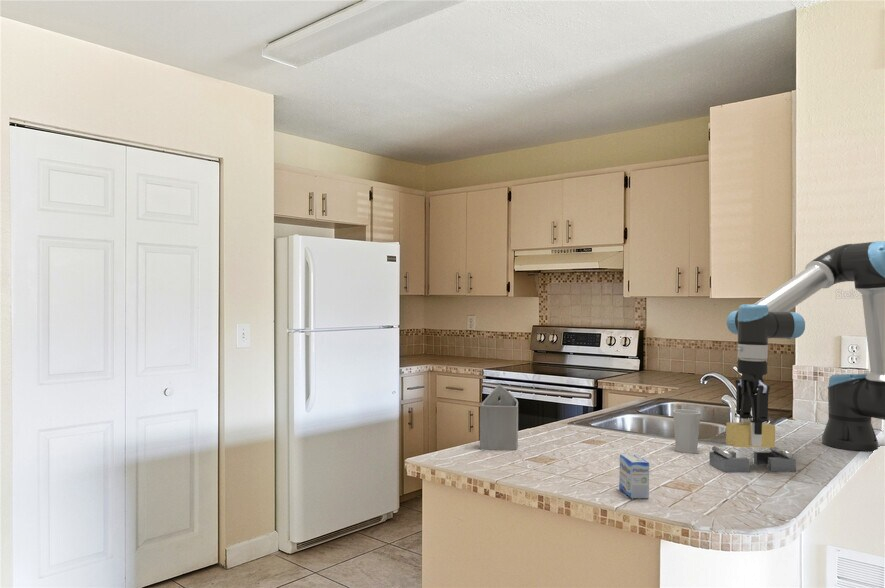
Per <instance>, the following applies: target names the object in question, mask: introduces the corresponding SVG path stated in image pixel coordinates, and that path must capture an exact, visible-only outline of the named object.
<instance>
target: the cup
mask: <svg viewBox="0 0 885 588" xmlns="http://www.w3.org/2000/svg"><path fill="white" fill-rule="evenodd" d="M672 416H673V426H674V427H673V429H674V441H675V442H674V443H675V451H676V452H678V453H679V452H680V453H685V454H697V453H698V451H699V450H698V447H699V435H700V423H701V422H700V421H701V412H700V411H699V410H695V409H694V410H692V409H684V408H683V409H674V410H672Z"/></svg>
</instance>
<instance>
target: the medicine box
mask: <svg viewBox="0 0 885 588" xmlns="http://www.w3.org/2000/svg"><path fill="white" fill-rule="evenodd" d="M618 475H619V476H618V477H619V478H618V479H619V481H618V484H619V485H618V486H619V487H618V488H619V490H620V491H621V490H622V491H623V492H622V491H621V492H622V493H624V494H625V495H626V496H627V495H628V496H627V497H629V499H631V498H648V499H650V463H649V462H648V461H647V460H645V459H644V458H642V457H641V456H639V455H638V454H634V453H624V454H623V453H621V454H619V473H618Z"/></svg>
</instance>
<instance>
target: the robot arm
mask: <svg viewBox="0 0 885 588" xmlns="http://www.w3.org/2000/svg"><path fill="white" fill-rule="evenodd" d="M805 265H806V266H805V267H804V269H803V270H802V271H801V272H799V273H797V274H796V275H795V276H793V277H792V278H791V279H789V280H787V281H786V282H784V283H782V284H781V285H780V286H778V287H776V288H775V289H773V291H771V292H770V293H768V294H766V295H765V296H763V297H762V298H761V299H759V300H758V301H756V302H755V303H753V304H747V303H746V304H744V303H743V304H740V305H739V307H738V309H737V310H733V311H731V312H730V313H729V314H728V316H727V318H726V326H727V329H728V331H729V332H730V333H732V334H733V335H737V347H736V350H737V358H739V359H738V360H737V362H736V363H737V364H736V365H737V366H736V367H737V369H736V371H737V373H738V374H740V375H741V378H740V379H735V386H736V387H735V388H736V389H735V391H736V394H735V395H736V396H735V397H736V398H735V399H736V401H735V403H736V405H735V406H736V409H735V410H736V411H735V412H736V415H739V418H740V422H743V423H751V440H750V446H761V444H762V423H766V422H768V418H769V417H768V416H769V415H768V414H769V394H770V389H771V387H770V385H768V384H767V385H766V384H765V383H764V379H763V376H765V375H767V374H768V362H767V361H766V360H767V359H768V357H769V356H768V351H769V349H768V347H769V345H768V344H769V339H788V340H790V339H797V338H800V337H801V336H802V335H803V334H804V332H805V330H806V320H805V319H804V317H803V315H801V314H800V313H798V312H794V311H791V310H792V309H794V308H795V307H797V306H798V305H799V304H801V303H803V302H804V301H805V300H807V299H808V298H810V297H812V295H815V294H816V293H817V292H819V291H820V290H822V289H829V288H830V287H833V285H836V284H841V283H845V282H854V283H853V284H854V289H855V290H856V291H857V292H859V293H860V294H861V298H862V299H861V301H862V308H863V309H862V310H863V315H864V326H865V332H866V342H867V352H868V359H869V367H870V371H869V372H868V373H850V374H849V373H845V374H844V373H842V374H841V373H840V374H832V375H830V377H829V379H828V386H827V389H828V390H827V391H828V392H827V393H828V395H827V396H828V397H827V398H828V402H827V403H828V420H827V423H826V426H825V427H824V430H823V433H822V436H821V443H822V444H824V445H825V446H828V447H831V448H837V449H841V450H842V449H843V450H850V451H861V452H862V451H863V452H868V451H869V452H870V451H877V450H878V449H879V440H878V439H877V435H876V433H875V430H874V427H873V422H872V418H873V419H874V418H875V419H879V420H884V421H885V241H884V240H883V241H882V240H876V241H871V242H870V241H869V242H868V241H867V242H861V243H860V242H859V243H846V244H843V245H842V244H841V245H839V246H836V247H834V248H832V249H829V250H828V251H826V252H824V253H823V254H820V255H819V256H817V257H816V258H814V259H813V260H811V261H809V262H808V263H807V264H805Z"/></svg>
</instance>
